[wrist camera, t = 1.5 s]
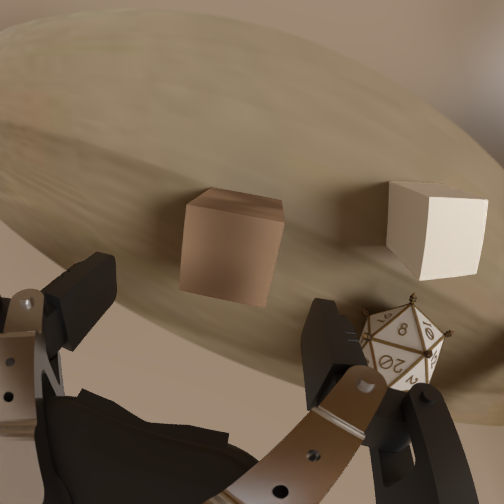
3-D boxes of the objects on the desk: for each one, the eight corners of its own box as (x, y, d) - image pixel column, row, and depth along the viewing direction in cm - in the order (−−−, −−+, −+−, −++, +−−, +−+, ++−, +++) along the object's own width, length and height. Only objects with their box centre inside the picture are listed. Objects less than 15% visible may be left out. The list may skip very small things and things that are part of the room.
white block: (441, 183, 17) (488, 199, 12) (436, 243, 19) (476, 274, 14) (388, 181, 18) (429, 197, 12) (385, 245, 20) (419, 280, 14)
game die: (358, 314, 26) (310, 393, 20) (388, 253, 21) (341, 347, 15) (428, 352, 23) (395, 438, 16) (474, 300, 17) (457, 407, 11)
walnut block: (281, 200, 19) (284, 222, 14) (267, 264, 21) (264, 307, 15) (211, 187, 19) (186, 204, 14) (202, 251, 21) (178, 289, 15)
